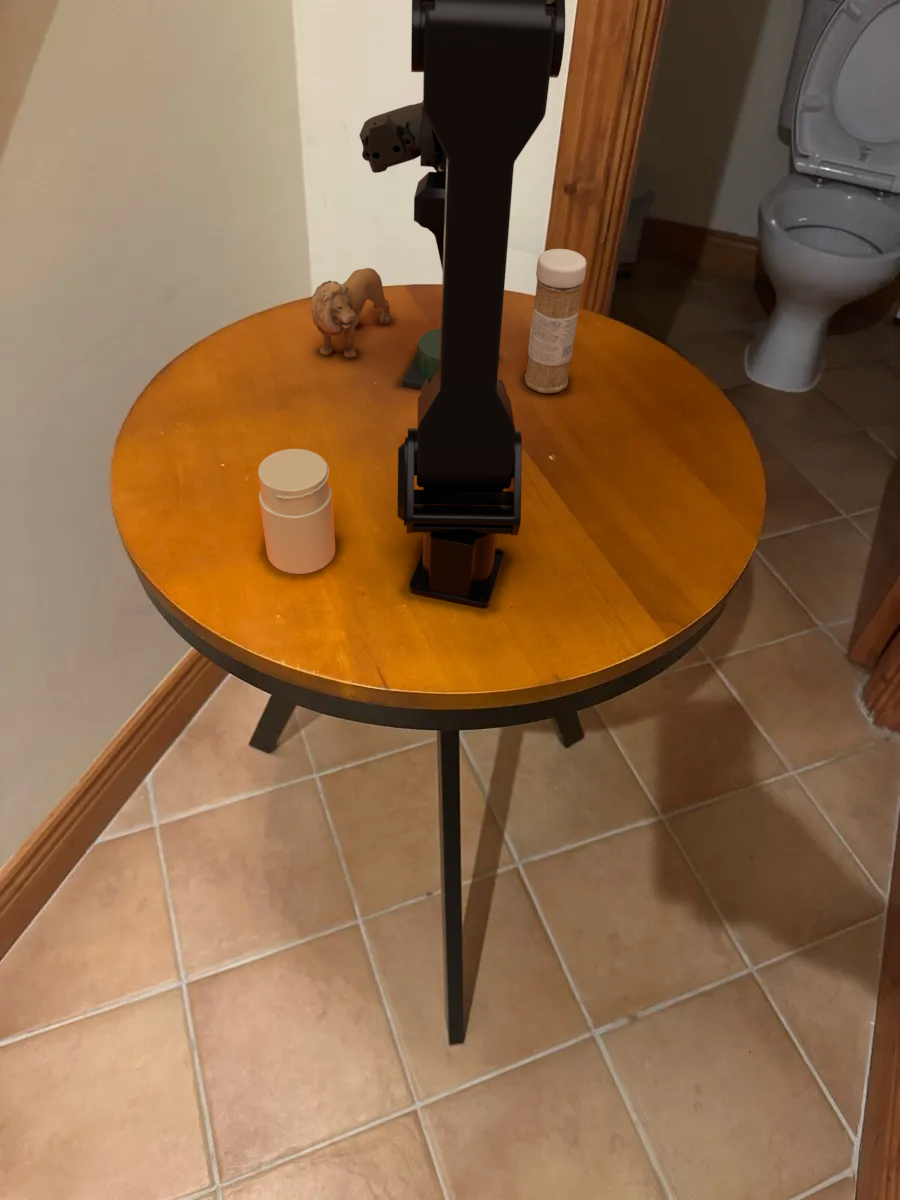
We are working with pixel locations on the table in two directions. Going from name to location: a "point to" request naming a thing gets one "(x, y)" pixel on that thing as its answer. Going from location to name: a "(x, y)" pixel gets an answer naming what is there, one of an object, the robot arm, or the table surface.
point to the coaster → (414, 376)
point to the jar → (297, 510)
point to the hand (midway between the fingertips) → (454, 261)
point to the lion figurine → (346, 307)
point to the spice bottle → (554, 319)
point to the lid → (429, 353)
